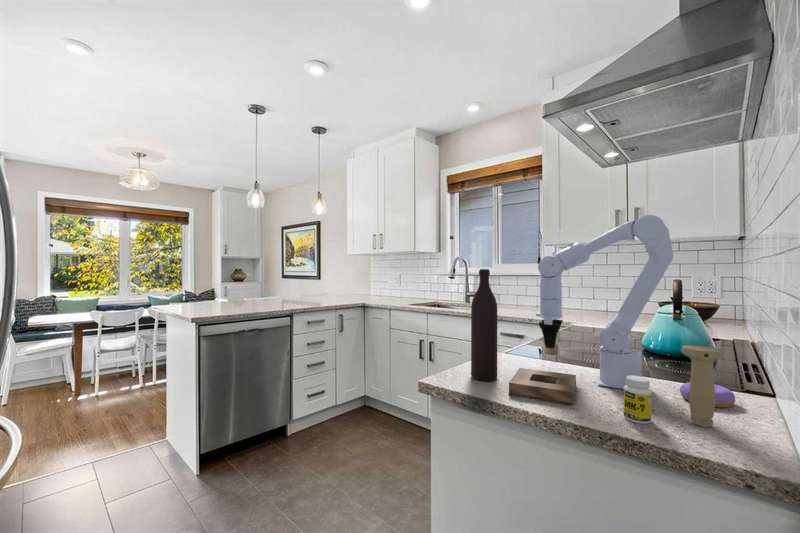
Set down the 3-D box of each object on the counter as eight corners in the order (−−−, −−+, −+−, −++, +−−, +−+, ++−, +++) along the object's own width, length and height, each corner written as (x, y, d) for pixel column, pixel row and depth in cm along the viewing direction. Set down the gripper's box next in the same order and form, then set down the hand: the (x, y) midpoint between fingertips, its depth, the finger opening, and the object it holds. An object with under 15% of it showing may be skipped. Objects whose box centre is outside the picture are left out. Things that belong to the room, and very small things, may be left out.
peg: (559, 352, 108) (559, 331, 108) (557, 355, 104) (557, 334, 104) (544, 351, 110) (544, 330, 110) (542, 354, 106) (542, 332, 106)
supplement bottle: (620, 419, 76) (620, 378, 76) (627, 412, 79) (627, 373, 79) (648, 426, 73) (648, 383, 73) (653, 419, 76) (654, 378, 76)
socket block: (576, 386, 96) (576, 375, 96) (572, 405, 83) (572, 392, 83) (519, 378, 102) (519, 367, 102) (508, 395, 90) (508, 382, 90)
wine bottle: (502, 377, 103) (502, 269, 103) (489, 383, 98) (489, 269, 98) (479, 372, 108) (479, 268, 108) (466, 378, 103) (466, 269, 103)
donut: (718, 394, 90) (721, 375, 89) (743, 417, 81) (747, 397, 80) (671, 391, 92) (673, 373, 91) (690, 413, 83) (693, 394, 82)
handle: (727, 432, 70) (727, 352, 70) (685, 426, 73) (685, 349, 73) (717, 422, 74) (718, 347, 74) (678, 417, 77) (679, 344, 77)
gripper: (539, 296, 115) (539, 340, 115) (532, 300, 102) (532, 350, 102) (564, 297, 112) (564, 342, 112) (560, 301, 99) (560, 352, 99)
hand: (550, 346), depth 107 cm, fingers closed on peg, 4 cm apart
